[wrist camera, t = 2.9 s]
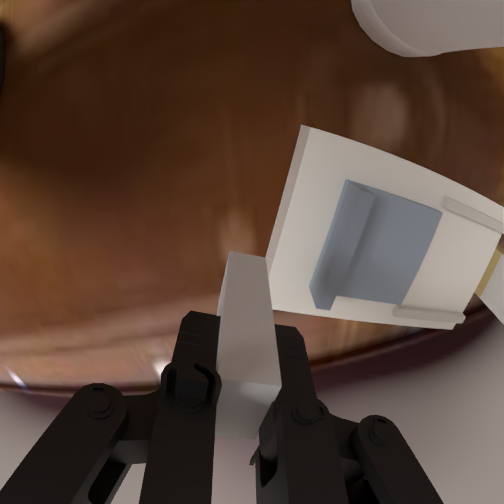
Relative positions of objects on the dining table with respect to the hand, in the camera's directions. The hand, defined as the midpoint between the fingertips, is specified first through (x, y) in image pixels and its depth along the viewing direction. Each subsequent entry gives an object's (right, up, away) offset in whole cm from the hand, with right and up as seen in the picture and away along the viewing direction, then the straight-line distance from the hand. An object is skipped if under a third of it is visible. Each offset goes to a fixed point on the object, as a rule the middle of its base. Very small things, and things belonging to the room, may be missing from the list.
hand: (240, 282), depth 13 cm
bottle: (+11, +19, +2) cm, 22 cm away
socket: (+12, +2, +11) cm, 16 cm away
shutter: (+9, +2, +7) cm, 12 cm away
